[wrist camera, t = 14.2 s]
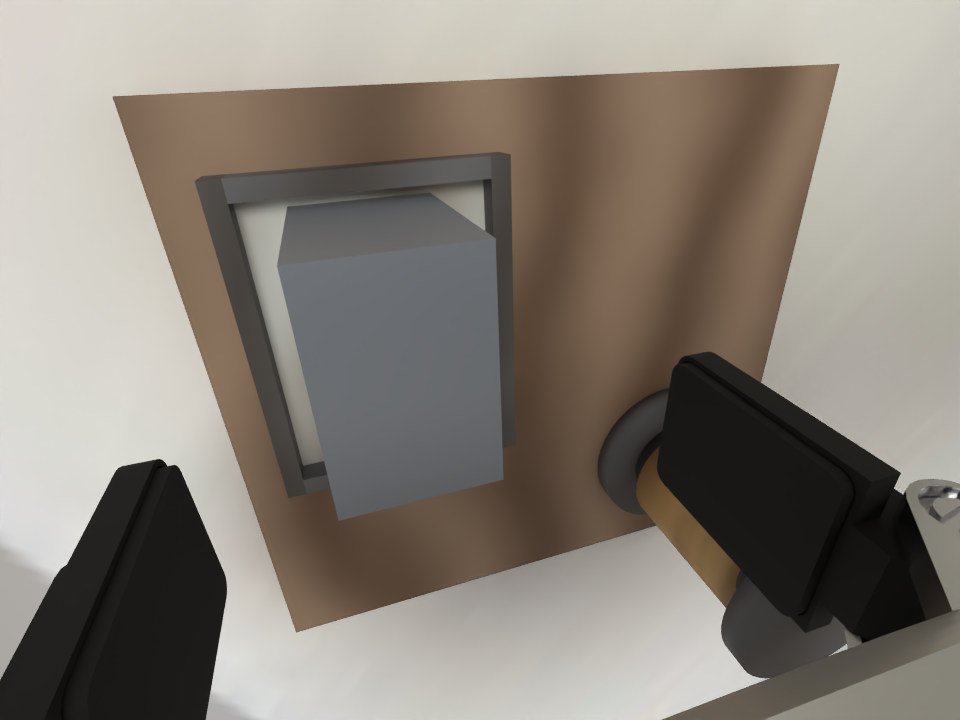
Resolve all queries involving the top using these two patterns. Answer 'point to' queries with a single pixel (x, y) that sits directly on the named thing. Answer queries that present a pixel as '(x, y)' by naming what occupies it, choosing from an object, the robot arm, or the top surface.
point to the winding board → (501, 302)
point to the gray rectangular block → (396, 346)
